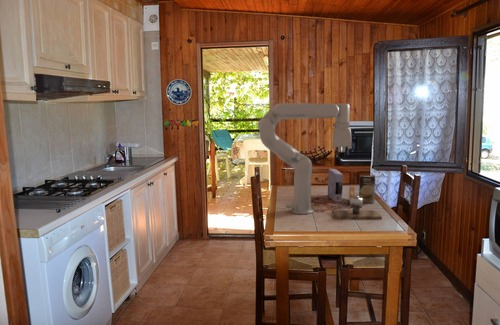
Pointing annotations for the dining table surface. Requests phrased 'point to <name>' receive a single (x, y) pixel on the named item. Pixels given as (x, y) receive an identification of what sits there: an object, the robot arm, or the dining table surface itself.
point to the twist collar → (354, 198)
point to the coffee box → (367, 188)
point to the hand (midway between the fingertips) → (341, 158)
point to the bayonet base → (356, 214)
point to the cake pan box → (335, 185)
